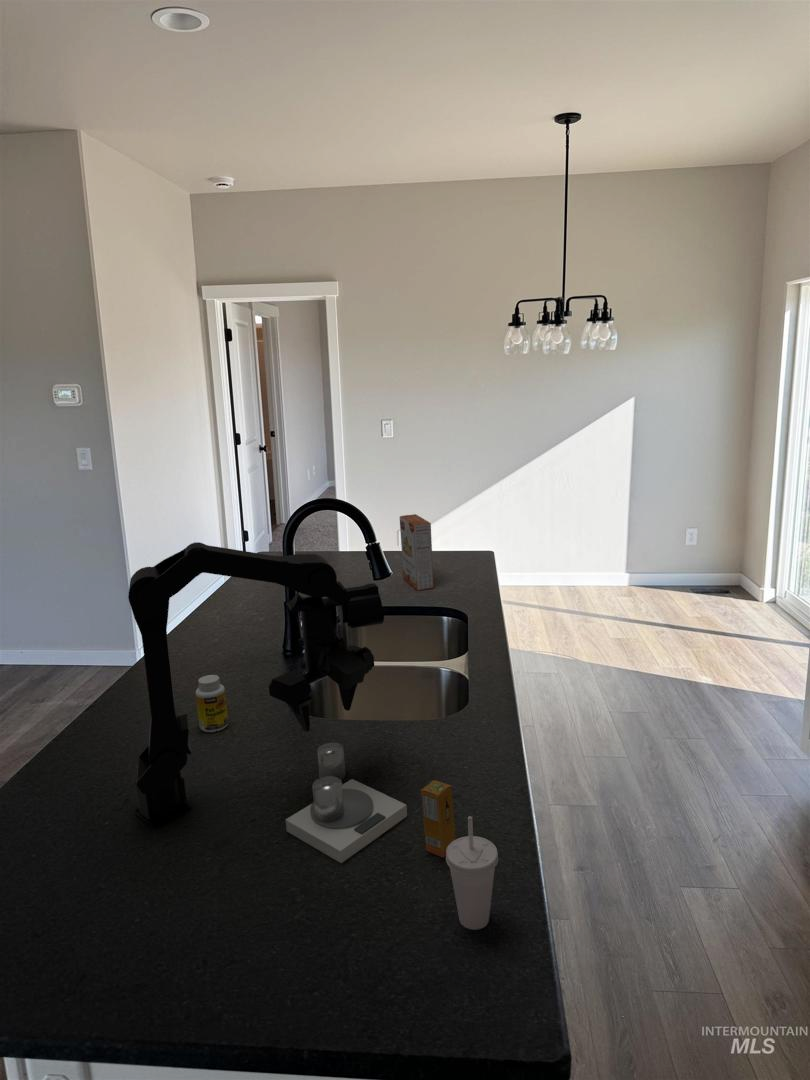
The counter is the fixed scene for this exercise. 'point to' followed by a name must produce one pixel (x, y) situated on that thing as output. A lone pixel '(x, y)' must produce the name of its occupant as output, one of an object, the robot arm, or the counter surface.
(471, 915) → the smoothie
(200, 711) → the supplement bottle
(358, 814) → the scale
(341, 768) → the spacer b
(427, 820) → the supplement box
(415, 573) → the cracker box
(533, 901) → the counter surface
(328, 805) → the spacer
